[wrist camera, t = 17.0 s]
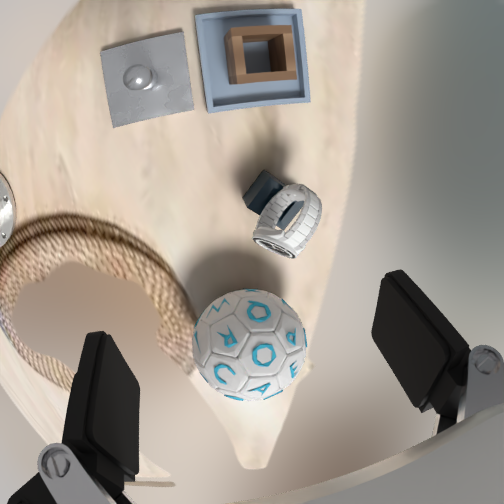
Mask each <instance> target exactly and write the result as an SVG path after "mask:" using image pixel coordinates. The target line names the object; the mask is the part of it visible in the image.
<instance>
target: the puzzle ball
mask: <svg viewBox="0 0 504 504" xmlns="http://www.w3.org/2000/svg"><path fill="white" fill-rule="evenodd" d="M243 289H244V288H243ZM194 328H195V330H194V332H193V338H192V346H193V357H194V360H195V364H196V366H197V368H198V370H199V371H200V374H201V375H202V376H203V377H204V379H205V380H206V381H207V383H209V385H210V386H211V387H212V388H214V389H216V391H217V392H220V393H222V394H225V395H224V396H226V397H229V398H232V399H236V400H241V401H243V400H247V401H251V400H261V399H263V400H265V399H267V398H269V397H271V396H274V395H276V394H278V393H280V392H282V391H283V389H284V388H286V387H287V386H289V385H290V384H291V382H292V381H294V380H295V378H296V376H297V375H298V373H299V372H300V370H301V368H302V366H303V364H304V358H305V357H306V347H307V341H306V334H305V329H304V328H303V326H302V322H301V320H300V318H299V317H298V314H297V313H296V312H295V311H294V310H293V309H292V308H291V307H290V306H289V305H288V304H287V303H286V302H285V301H284V300H283V299H280V298H279V297H277V296H276V295H274V294H272V293H269V292H267V291H264V290H257V289H245V290H237V291H234V292H229V293H227V294H225V295H223V296H221V297H219V298H218V299H216V300H214V301H213V302H212V303H211V304H210V305H209V306H208V307H207V308H206V309H205V310H204V312H203V313H202V314H201V316H200V317H199V319H198V321H197V322H196V324H195V327H194Z"/></svg>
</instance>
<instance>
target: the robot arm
mask: <svg viewBox="0 0 504 504" xmlns="http://www.w3.org/2000/svg"><path fill="white" fill-rule="evenodd" d="M15 221H16V207H15V201H14V197H13V194H12V191H11V189H10V187H9V185H8V183H7V181H6V180H5V178H4V177H3V176H2V175H1V174H0V247H1V246H2V245H3V244H5V243H6V241H7V240H8V239H9V238H10V236H11V234H12V233H13V230H14V227H15ZM371 333H372V338H373V340H374V342H375V343H376V345H377V347H378V348H379V350H380V351H381V353H382V354H383V356H384V358H385V359H386V361H387V363H388V364H389V366H390V368H391V369H392V371H393V373H394V374H395V376H396V377H397V379H398V381H399V382H400V384H401V386H402V387H403V389H404V391H405V392H406V394H407V395H408V397H409V399H410V401H411V402H412V404H413V406H414V407H417V408H419V409H420V411H421V413H423V412H425V411H427V410H429V409H431V408H434V409H435V411H436V419H435V423H434V428H433V433H432V437H431V438H429V439H427V440H425V441H423V442H421V443H419V444H417V445H416V446H413V447H411V448H409V449H407V450H405V451H403V452H401V453H398V454H396V455H394V456H392V457H389V458H387V459H385V460H383V461H380V462H378V463H375V464H373V465H371V466H368V467H365V468H363V469H360V470H357V471H354V472H352V473H349V474H346V475H343V476H340V477H337V478H334V479H331V480H328V481H325V482H322V483H318V484H315V485H312V486H308V487H304V488H301V489H297V490H293V491H289V492H285V493H281V494H276V495H272V496H267V497H262V498H257V499H252V500H247V501H240V502H234V503H227V504H504V361H503V358H502V356H501V354H500V353H499V352H498V351H497V350H496V349H494V348H493V347H490V346H487V345H479V346H476V347H475V348H473V349H472V350H470V349H469V345H468V344H467V342H466V341H465V340H464V339H463V337H462V336H461V335H460V334H459V333H458V331H457V330H456V329H455V328H454V327H453V326H452V324H451V323H450V322H449V321H448V320H447V318H446V317H445V316H444V315H443V314H442V313H441V312H440V310H439V309H438V308H437V307H436V306H435V305H434V304H433V302H432V301H431V300H430V299H429V298H428V297H427V296H426V295H425V294H424V292H423V291H422V290H421V289H420V288H419V287H418V286H417V285H416V284H415V283H414V282H413V281H412V280H411V278H409V276H408V275H407V274H406V273H405V272H404V271H403V270H396V271H392V272H389V273H386V274H385V277H384V278H383V279H382V280H381V285H380V290H379V296H378V302H377V307H376V312H375V317H374V322H373V326H372V332H371ZM139 403H140V387H139V383H138V381H137V379H136V378H135V376H134V374H133V373H132V371H131V370H130V368H129V366H128V365H127V363H126V361H125V359H124V358H123V356H122V354H121V352H120V351H119V349H118V347H117V346H116V344H115V342H114V340H113V338H112V337H111V335H107V334H106V333H105V332H104V331H98V332H92V333H88V334H87V335H86V338H85V342H84V346H83V350H82V354H81V358H80V362H79V367H78V371H77V373H76V374H75V376H74V378H73V382H72V387H71V392H70V397H69V402H68V407H67V413H66V418H65V424H64V431H63V437H62V444H61V443H53V444H50V445H48V446H46V447H45V448H44V449H43V450H42V451H41V453H40V455H39V457H38V470H39V472H38V473H37V474H36V475H35V476H34V477H33V478H32V479H30V480H29V481H28V482H27V483H26V484H25V485H23V486H22V487H21V488H20V489H19V490H18V491H16V492H15V493H14V494H13V495H12V496H11V497H10V498H9V500H8V503H7V504H136V503H135V502H134V501H133V500H132V499H131V498H130V497H129V496H128V495H127V494H126V492H125V491H124V482H135V475H137V474H138V473H139Z"/></svg>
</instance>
